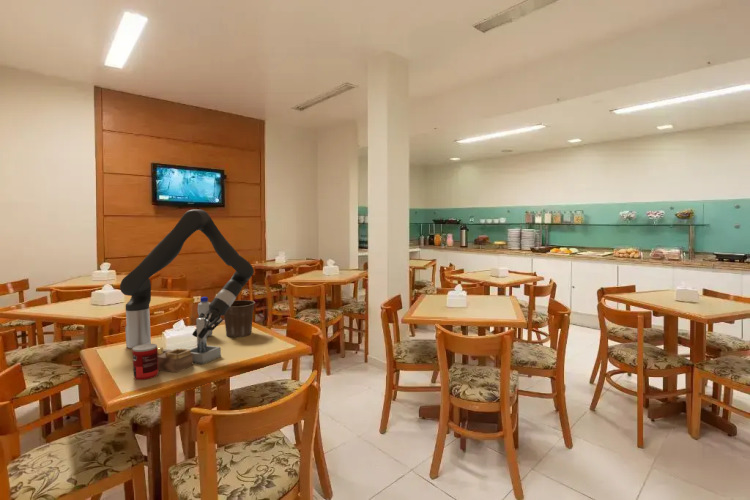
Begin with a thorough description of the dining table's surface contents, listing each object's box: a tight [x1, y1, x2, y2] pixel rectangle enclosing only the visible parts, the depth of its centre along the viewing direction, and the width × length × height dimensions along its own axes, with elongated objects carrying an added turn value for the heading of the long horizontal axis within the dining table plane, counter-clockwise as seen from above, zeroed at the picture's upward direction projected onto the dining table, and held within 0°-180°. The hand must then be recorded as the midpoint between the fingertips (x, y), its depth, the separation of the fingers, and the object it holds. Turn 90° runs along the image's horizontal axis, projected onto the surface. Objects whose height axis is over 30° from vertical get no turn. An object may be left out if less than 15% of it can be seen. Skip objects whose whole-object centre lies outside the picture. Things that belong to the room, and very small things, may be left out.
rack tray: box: [190, 345, 222, 365], centre depth 159 cm, size 10×10×4 cm
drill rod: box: [195, 317, 208, 353], centre depth 159 cm, size 4×4×14 cm
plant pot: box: [223, 299, 256, 338], centre depth 195 cm, size 16×16×16 cm
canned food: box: [132, 343, 159, 381], centre depth 142 cm, size 8×8×11 cm
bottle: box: [197, 296, 213, 338], centre depth 192 cm, size 7×7×20 cm
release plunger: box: [157, 347, 164, 355], centre depth 153 cm, size 3×3×6 cm
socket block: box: [158, 348, 194, 374], centre depth 151 cm, size 16×8×6 cm, turn 70°
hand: (197, 336), depth 157 cm, fingers closed on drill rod, 3 cm apart
